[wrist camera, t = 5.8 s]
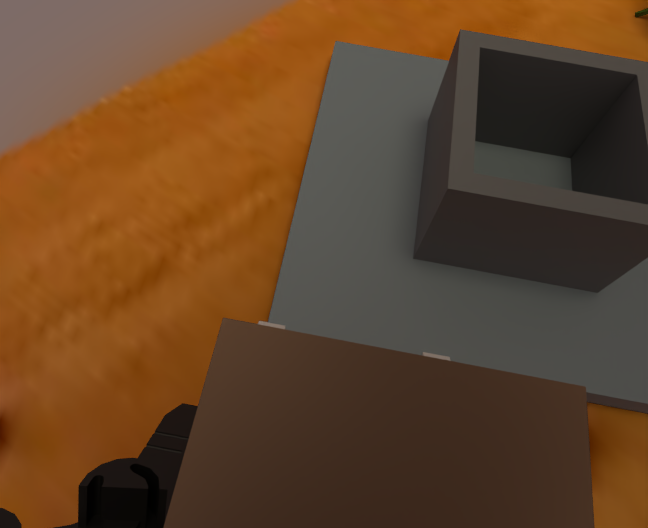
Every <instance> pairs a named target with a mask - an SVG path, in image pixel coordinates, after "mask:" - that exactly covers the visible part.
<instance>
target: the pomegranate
mask: <svg viewBox="0 0 648 528" xmlns="http://www.w3.org/2000/svg"><path fill="white" fill-rule="evenodd" d="M646 14H648V8H647V9H644V10H641V11H638V12H636V13H635V17H639V16H643V15H646Z"/></svg>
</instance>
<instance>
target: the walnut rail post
mask: <svg viewBox="0 0 648 528" xmlns="http://www.w3.org/2000/svg"><path fill="white" fill-rule="evenodd" d="M163 528H594V514H593V497H592V480H591V463H590V447H589V430H588V413H587V396H586V387H585V386H580V385H575V384H569V383H564V382H559V381H554V380H548V379H543V378H538V377H533V376H527V375H522V374H517V373H512V372H506V371H501V370H496V369H491V368H485V367H480V366H475V365H470V364H464V363H459V362H454V361H449V360H443V359H438V358H433V357H428V356H422V355H417V354H412V353H407V352H401V351H396V350H391V349H385V348H380V347H375V346H370V345H364V344H359V343H354V342H349V341H343V340H338V339H333V338H328V337H322V336H317V335H312V334H307V333H301V332H296V331H291V330H286V329H280V328H275V327H270V326H265V325H259V324H254V323H249V322H244V321H238V320H233V319H228V318H223V320H222V324H221V327H220V331H219V334H218V338H217V341H216V345H215V348H214V352H213V355H212V359H211V362H210V366H209V369H208V373H207V376H206V380H205V383H204V387H203V390H202V394H201V397H200V401H199V404H198V408H197V411H196V415H195V418H194V422H193V425H192V429H191V432H190V436H189V439H188V443H187V446H186V450H185V453H184V457H183V460H182V464H181V467H180V471H179V474H178V478H177V482H176V485H175V489H174V492H173V496H172V499H171V503H170V506H169V510H168V513H167V517H166V520H165V524H164V527H163Z"/></svg>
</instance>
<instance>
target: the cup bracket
mask: <svg viewBox="0 0 648 528" xmlns="http://www.w3.org/2000/svg"><path fill="white" fill-rule="evenodd" d="M268 323H273V324H279V325H284V326H285V329H286V330H291V331H296V332H301V333H307V334H312V335H317V336H322V337H328V338H333V339H338V340H343V341H349V342H354V343H359V344H364V345H370V346H375V347H380V348H385V349H391V350H396V351H401V352H407V353H412V354H417V355H422V354H423V352H426V353H431V354H437V355H442V356H447V357H450V360H451V361H454V362H459V363H464V364H470V365H475V366H480V367H485V368H491V369H496V370H501V371H506V372H512V373H517V374H522V375H527V376H533V377H538V378H543V379H548V380H554V381H559V382H564V383H569V384H575V385H580V386H585V387H586V396H587V402H590V403H596V404H601V405H606V406H611V407H617V408H622V409H627V410H632V411H637V412H643V413H648V62H643V61H638V60H632V59H626V58H621V57H615V56H609V55H603V54H598V53H592V52H586V51H581V50H575V49H569V48H563V47H558V46H552V45H546V44H540V43H535V42H529V41H523V40H518V39H512V38H506V37H500V36H495V35H489V34H483V33H478V32H472V31H466V30H460V32H459V35H458V37H457V40H456V43H455V46H454V49H453V51H452V54H451V57H450V60H449V61H446V60H441V59H435V58H429V57H424V56H418V55H412V54H407V53H401V52H395V51H390V50H384V49H378V48H373V47H367V46H361V45H356V44H350V43H344V42H339V41H336V42H335V46H334V50H333V54H332V58H331V62H330V67H329V71H328V75H327V79H326V83H325V87H324V91H323V96H322V100H321V104H320V108H319V112H318V116H317V121H316V125H315V129H314V133H313V137H312V141H311V145H310V150H309V154H308V158H307V162H306V166H305V170H304V174H303V179H302V183H301V187H300V191H299V195H298V199H297V203H296V208H295V212H294V216H293V220H292V224H291V228H290V232H289V237H288V241H287V245H286V249H285V253H284V257H283V262H282V266H281V270H280V274H279V278H278V282H277V286H276V291H275V295H274V299H273V303H272V307H271V311H270V315H269V320H268Z"/></svg>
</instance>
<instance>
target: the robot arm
mask: <svg viewBox="0 0 648 528" xmlns="http://www.w3.org/2000/svg"><path fill="white" fill-rule="evenodd" d="M258 324H259V325H265V326H270V327H275V328H280V329H285V326H284V325H279V324H273V323H268V322H263V321H259V323H258ZM422 356H428V357H433V358H438V359H443V360H449V361H451V360H450V357H447V356H442V355H437V354H431V353H426V352H423V354H422ZM197 408H198V406H193V405H188V404H183V403H182V404H181V405H179V406H178V407H177V408H175V409H174V410H172V411H171V412H169V413H168V414H166V415H165V416H164V418H163V419H162V421H161V423H160V424H159V426H158V427H157V429H156V430H155V434H153V435H152V437H151V438H150V440H149V441H148V443H147V446H146V447H145V448H144V449H143V451H142V452H141V454H140V455H139V457H138V459H137V458H126V459H116V460H113V461H110V462H108V463H105V464H102V465H100V466H98V467H97V468H95V469H94V470H93V471H91V472H90V473H88V474H87V475H86V477H85V478H84V479H83V481H82V482H81V483H80V485H79V507H78V522H77V523H75V524H72V525H67V526H61V527H55V528H163V527H164V524H165V520H166V517H167V513H168V510H169V506H170V503H171V499H172V496H173V492H174V489H175V485H176V482H177V478H178V474H179V471H180V467H181V464H182V460H183V457H184V453H185V450H186V446H187V443H188V439H189V436H190V432H191V429H192V425H193V422H194V418H195V415H196V411H197ZM0 528H21V523H20V522H19V520H18V518H17V517H16V515H15V514H13V513H11V512H9V511H7V510H5V509H3V508H0Z"/></svg>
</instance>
